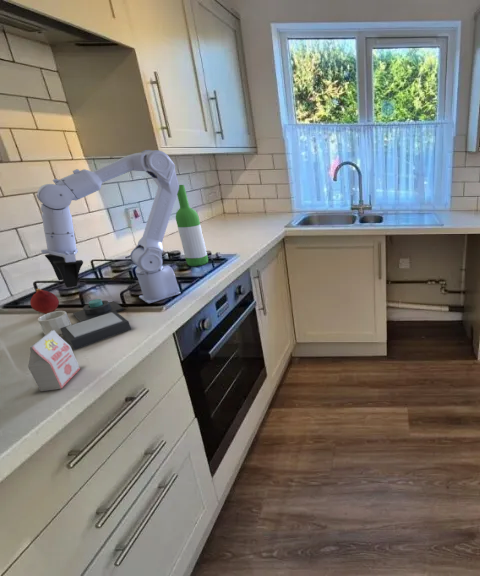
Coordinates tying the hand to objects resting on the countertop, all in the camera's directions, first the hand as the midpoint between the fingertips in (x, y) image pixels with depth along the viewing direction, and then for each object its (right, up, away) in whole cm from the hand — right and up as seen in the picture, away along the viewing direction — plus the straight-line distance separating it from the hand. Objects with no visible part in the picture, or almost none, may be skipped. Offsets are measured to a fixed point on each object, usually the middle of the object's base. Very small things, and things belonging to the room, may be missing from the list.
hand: (67, 283), depth 97 cm
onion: (-11, -9, +7) cm, 16 cm away
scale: (+11, -13, -4) cm, 18 cm away
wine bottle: (+12, +8, +45) cm, 47 cm away
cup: (0, -13, -2) cm, 13 cm away
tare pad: (+3, -8, +7) cm, 11 cm away
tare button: (+3, -7, +6) cm, 9 cm away
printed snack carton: (+18, -21, -21) cm, 35 cm away
